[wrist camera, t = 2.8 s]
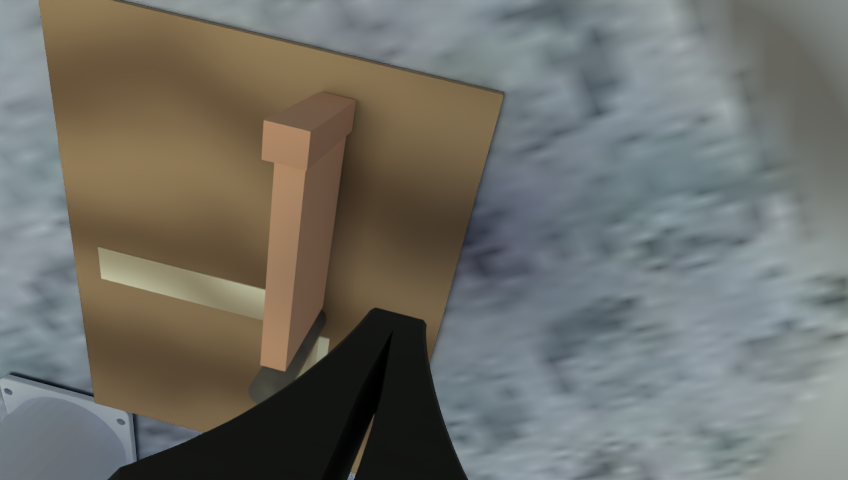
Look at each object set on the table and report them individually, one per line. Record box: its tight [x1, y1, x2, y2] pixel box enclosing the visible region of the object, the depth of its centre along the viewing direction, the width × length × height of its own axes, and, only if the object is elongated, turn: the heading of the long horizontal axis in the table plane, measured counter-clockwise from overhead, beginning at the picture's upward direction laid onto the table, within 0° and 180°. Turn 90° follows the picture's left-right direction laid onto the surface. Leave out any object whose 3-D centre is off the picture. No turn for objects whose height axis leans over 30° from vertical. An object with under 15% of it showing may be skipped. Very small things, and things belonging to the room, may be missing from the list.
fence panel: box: [260, 91, 356, 371], centre depth 19 cm, size 10×1×5 cm, turn 168°
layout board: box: [39, 0, 504, 473], centre depth 23 cm, size 22×18×1 cm
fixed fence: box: [248, 310, 326, 404], centre depth 23 cm, size 10×1×5 cm, turn 168°
